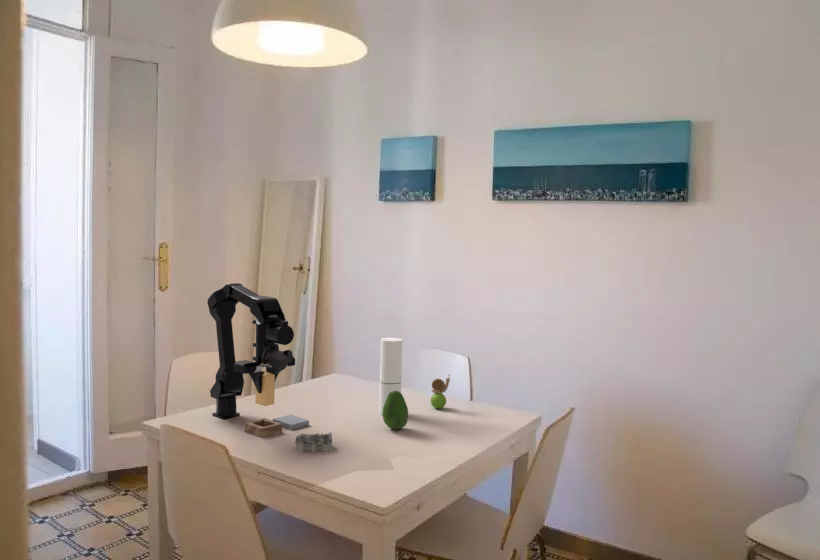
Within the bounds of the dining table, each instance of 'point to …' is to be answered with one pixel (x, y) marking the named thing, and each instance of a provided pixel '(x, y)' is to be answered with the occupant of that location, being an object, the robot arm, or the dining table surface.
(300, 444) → the egg carton
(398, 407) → the avocado
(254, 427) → the brown square frame
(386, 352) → the cylindrical container
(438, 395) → the snail figurine
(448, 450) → the dining table surface
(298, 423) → the grey rubber mat
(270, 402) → the amber plug
